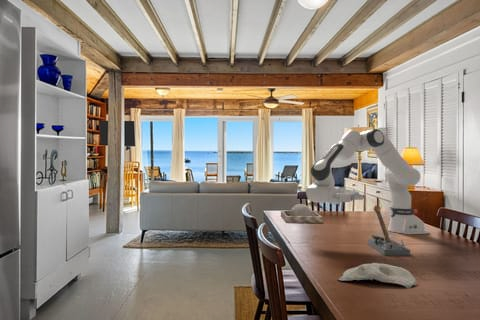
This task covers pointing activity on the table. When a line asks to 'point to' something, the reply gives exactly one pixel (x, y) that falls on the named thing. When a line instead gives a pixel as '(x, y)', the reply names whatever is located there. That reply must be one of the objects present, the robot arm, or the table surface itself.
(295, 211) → the seashell
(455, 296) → the table surface
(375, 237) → the block
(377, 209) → the lever
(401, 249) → the panel
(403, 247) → the stub toggle
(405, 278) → the stone
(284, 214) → the driftwood frame
